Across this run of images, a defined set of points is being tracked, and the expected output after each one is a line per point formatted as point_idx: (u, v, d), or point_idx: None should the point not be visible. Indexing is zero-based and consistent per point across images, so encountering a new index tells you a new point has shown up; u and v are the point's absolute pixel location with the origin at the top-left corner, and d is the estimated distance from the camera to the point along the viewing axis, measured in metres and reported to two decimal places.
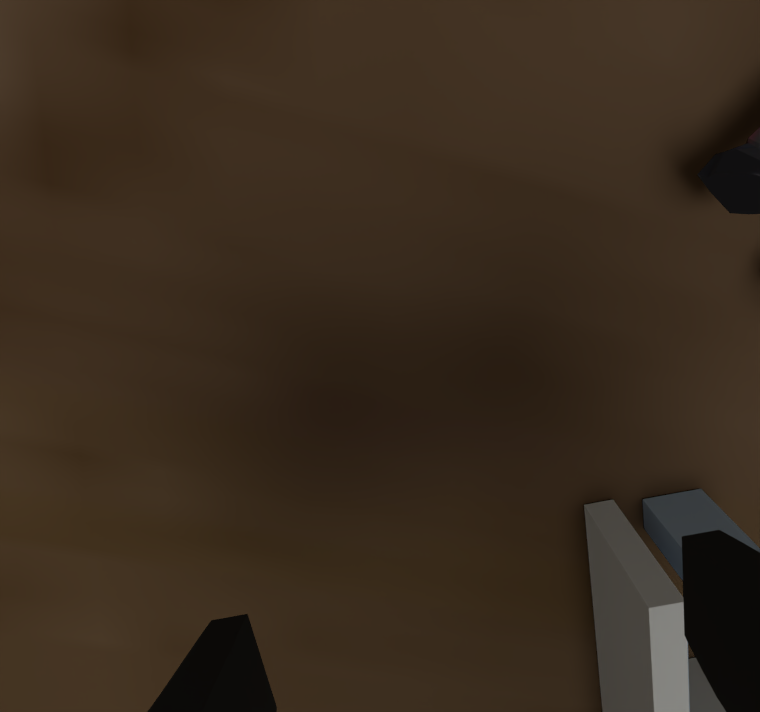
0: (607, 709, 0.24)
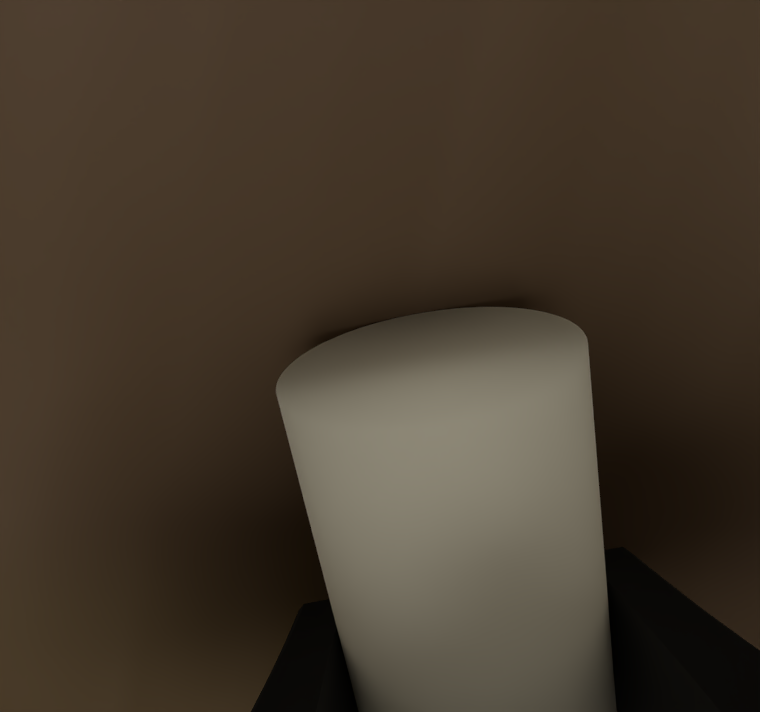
0: None
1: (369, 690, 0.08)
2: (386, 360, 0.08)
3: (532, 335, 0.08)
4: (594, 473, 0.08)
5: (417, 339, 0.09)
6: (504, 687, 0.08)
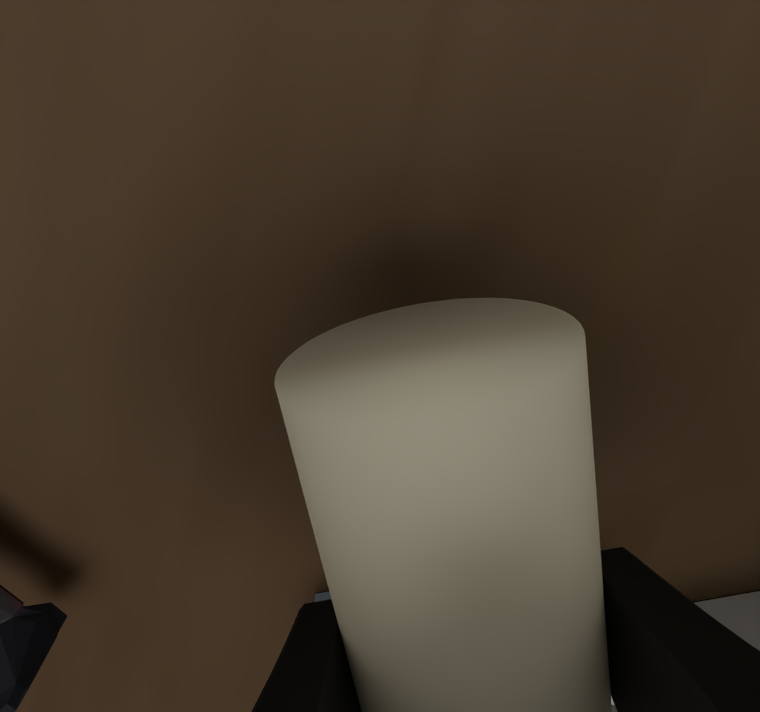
0: None
1: (369, 677, 0.09)
2: (384, 352, 0.08)
3: (529, 326, 0.08)
4: (591, 463, 0.08)
5: (414, 331, 0.09)
6: (502, 672, 0.08)
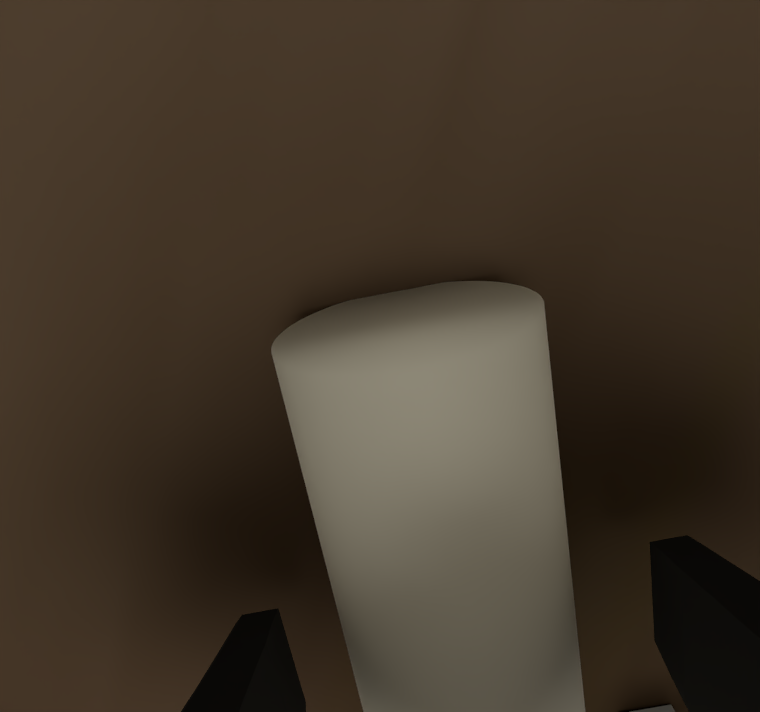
0: None
1: (348, 612, 0.10)
2: (369, 323, 0.09)
3: (499, 303, 0.09)
4: (547, 426, 0.09)
5: (401, 306, 0.10)
6: (459, 608, 0.09)
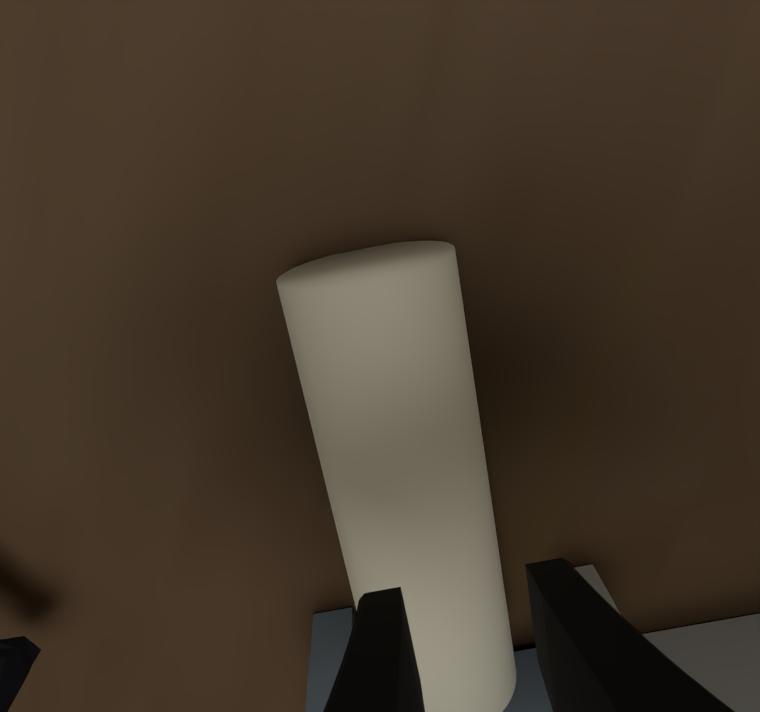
0: None
1: (318, 451, 0.15)
2: (344, 264, 0.14)
3: (425, 255, 0.14)
4: (440, 339, 0.13)
5: (373, 255, 0.15)
6: (371, 450, 0.13)
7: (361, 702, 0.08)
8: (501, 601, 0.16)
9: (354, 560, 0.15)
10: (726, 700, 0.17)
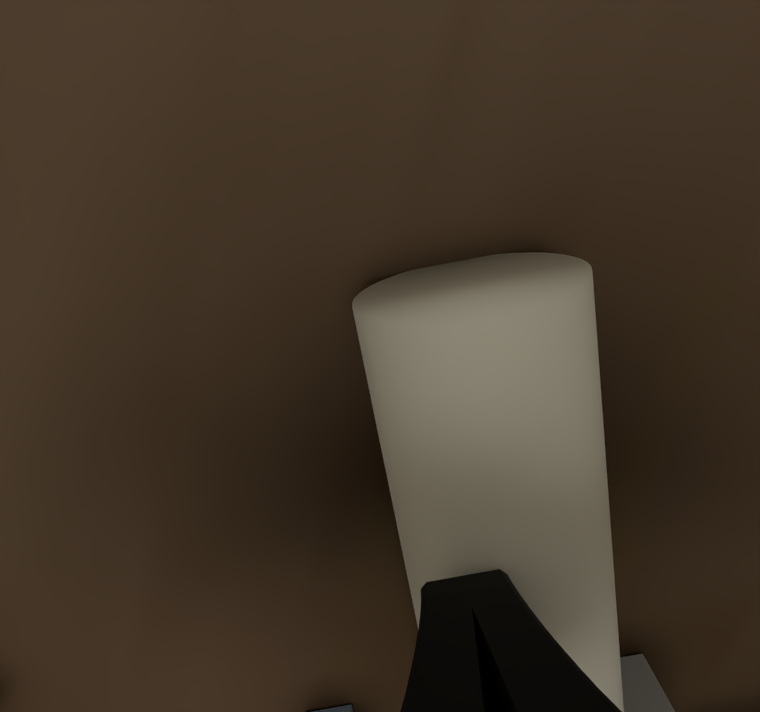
0: None
1: (478, 557, 0.10)
2: (440, 291, 0.11)
3: (527, 261, 0.11)
4: None
5: (439, 280, 0.11)
6: (583, 504, 0.10)
7: (444, 688, 0.08)
8: None
9: None
10: None
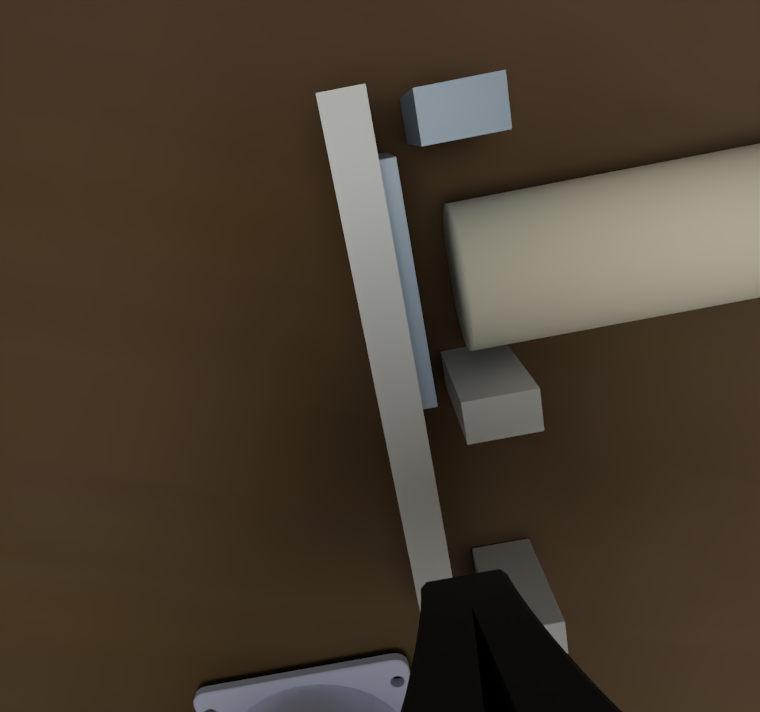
0: None
1: None
2: None
3: None
4: None
5: None
6: None
7: (444, 688, 0.08)
8: None
9: (684, 231, 0.15)
10: None
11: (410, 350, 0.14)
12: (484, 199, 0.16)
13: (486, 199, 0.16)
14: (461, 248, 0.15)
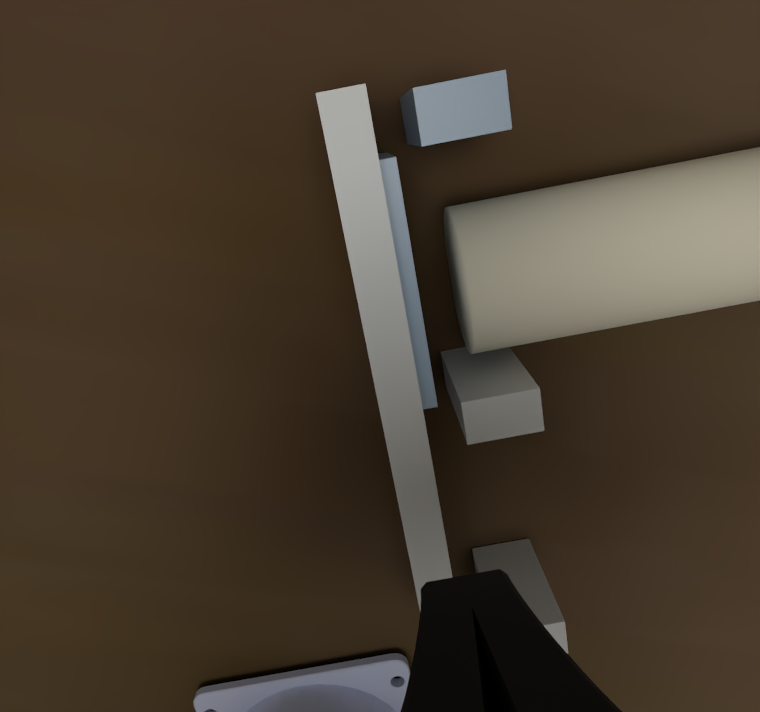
0: None
1: None
2: None
3: None
4: None
5: None
6: None
7: (444, 687, 0.08)
8: None
9: (684, 238, 0.15)
10: None
11: (410, 350, 0.14)
12: (485, 203, 0.16)
13: (487, 204, 0.16)
14: (462, 255, 0.15)
